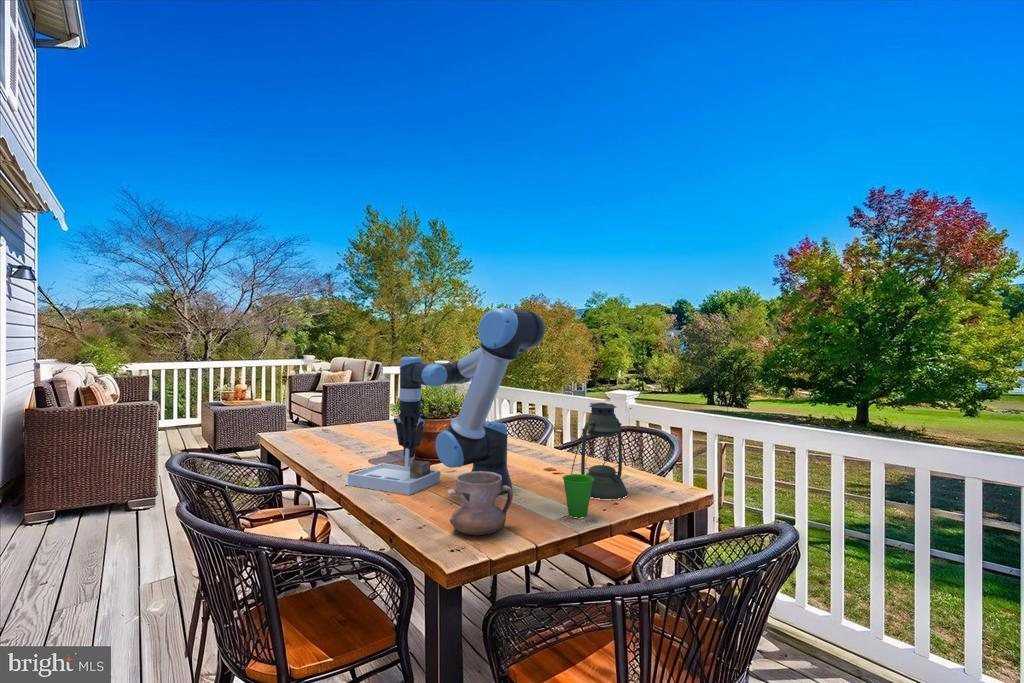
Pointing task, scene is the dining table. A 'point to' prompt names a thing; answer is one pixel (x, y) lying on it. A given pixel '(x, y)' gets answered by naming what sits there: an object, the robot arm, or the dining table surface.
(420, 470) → the walnut block
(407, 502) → the dining table surface
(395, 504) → the dining table surface
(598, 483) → the lantern
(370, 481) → the box
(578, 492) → the cup
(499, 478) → the ceramic jug
